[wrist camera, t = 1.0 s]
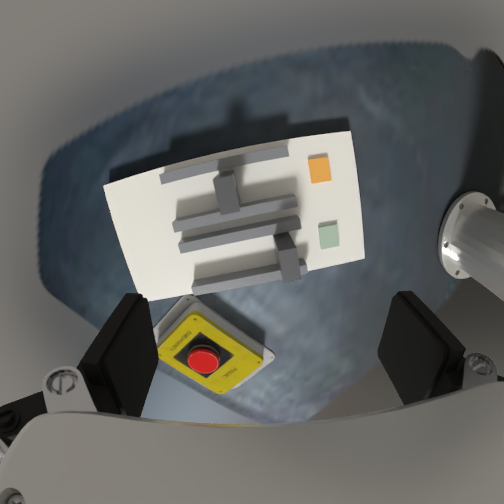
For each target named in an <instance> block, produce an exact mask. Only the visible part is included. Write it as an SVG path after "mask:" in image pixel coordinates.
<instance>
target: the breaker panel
mask: <svg viewBox="0 0 504 504" xmlns="http://www.w3.org/2000/svg"><path fill="white" fill-rule="evenodd" d="M233 170H234V173H235V177H236V182H237V186H238V191H239V196H240V200H241V202H240V212H235V213H231V214H226V215H221V214H220V210H219V206H218V201H217V197H216V193H215V188H214V184H213V178H214V177H215V176H216V175H217V174H220V173H224V172H229V171H233ZM103 187H104V191H105V195H106V198H107V202H108V205H109V209H110V212H111V216H112V219H113V222H114V226H115V229H116V232H117V235H118V238H119V241H120V244H121V247H122V250H123V253H124V256H125V259H126V262H127V265H128V267H129V270H130V273H131V275H132V278H133V281H134V283H135V286H136V289H137V291H138V293H139V294H142V295H143V298H147V300H148V301H153V300H159V299H164V298H170V297H176V296H182V295H187V294H193V295H194V296H196V295H202V294H207V293H213V292H218V291H223V290H229V289H234V288H239V287H244V286H250V285H255V284H260V283H265V282H270V281H275V280H280V279H283V278H282V275H281V272H280V268H279V265H278V262H277V257H276V251H275V246H274V240H273V235H274V234H279V233H284V232H289V234H290V236H291V238H292V240H293V241H294V243H295V245H296V247H297V252H298V259H299V266H300V273H301V275H304V274H308V271H310V270H315V269H320V268H324V267H329V266H333V265H338V264H342V263H347V262H351V261H356V260H360V259H365V257H364V240H363V226H362V214H361V204H360V194H359V186H358V177H357V170H356V163H355V156H354V149H353V143H352V137H351V131H346V132H337V133H328V134H320V135H313V136H306V137H299V138H292V139H286V140H280V141H274V142H269V143H263V144H258V145H253V146H247V147H243V148H238V149H233V150H228V151H224V152H219V153H215V154H211V155H206V156H202V157H198V158H194V159H190V160H186V161H183V162H179V163H175V164H171V165H168V166H164V167H161V168H157V169H154V170H151V171H147V172H144V173H141V174H137V175H134V176H131V177H128V178H125V179H122V180H119V181H116V182H113V183H110V184H107V185H104V186H103Z"/></svg>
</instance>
